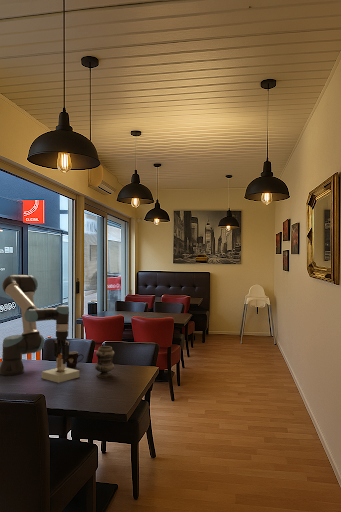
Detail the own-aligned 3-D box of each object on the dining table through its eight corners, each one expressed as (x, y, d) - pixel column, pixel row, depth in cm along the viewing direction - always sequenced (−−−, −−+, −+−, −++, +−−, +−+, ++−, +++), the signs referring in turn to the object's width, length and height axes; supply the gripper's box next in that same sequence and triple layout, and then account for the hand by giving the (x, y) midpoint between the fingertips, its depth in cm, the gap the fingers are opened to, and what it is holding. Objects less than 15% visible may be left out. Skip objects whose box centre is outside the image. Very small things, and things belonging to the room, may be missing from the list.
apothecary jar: (103, 379, 229) (104, 349, 230) (90, 376, 236) (91, 347, 237) (117, 375, 238) (118, 347, 239) (104, 372, 246) (105, 344, 247)
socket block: (41, 378, 229) (41, 371, 229) (62, 372, 242) (62, 366, 242) (58, 382, 220) (58, 375, 220) (79, 377, 233) (79, 370, 233)
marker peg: (55, 375, 231) (56, 354, 232) (61, 374, 234) (61, 353, 235) (60, 376, 228) (60, 355, 229) (65, 375, 232) (66, 354, 232)
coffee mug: (62, 368, 255) (62, 353, 255) (69, 365, 263) (69, 351, 264) (77, 369, 251) (77, 354, 252) (84, 366, 260) (84, 352, 260)
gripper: (48, 329, 235) (47, 367, 233) (66, 332, 225) (64, 371, 224) (58, 328, 241) (57, 365, 239) (75, 331, 231) (74, 369, 230)
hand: (60, 368), depth 231 cm, fingers closed on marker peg, 4 cm apart
